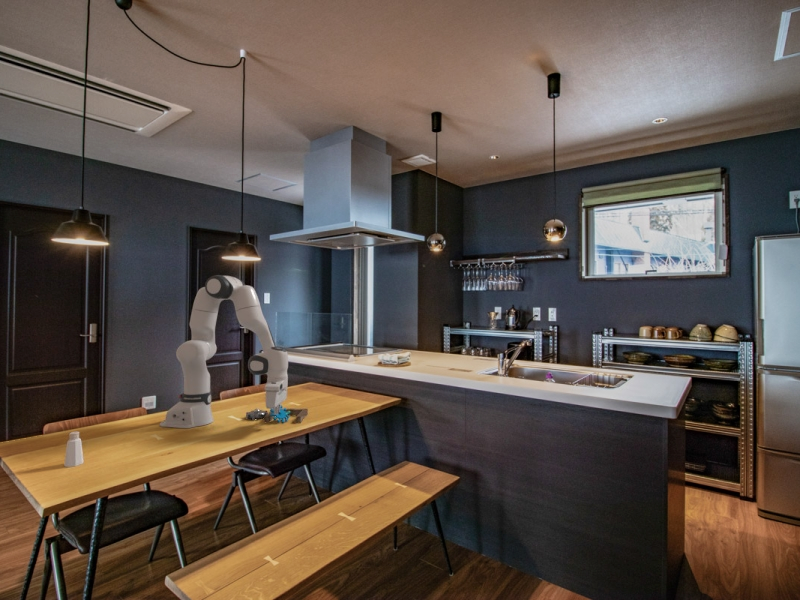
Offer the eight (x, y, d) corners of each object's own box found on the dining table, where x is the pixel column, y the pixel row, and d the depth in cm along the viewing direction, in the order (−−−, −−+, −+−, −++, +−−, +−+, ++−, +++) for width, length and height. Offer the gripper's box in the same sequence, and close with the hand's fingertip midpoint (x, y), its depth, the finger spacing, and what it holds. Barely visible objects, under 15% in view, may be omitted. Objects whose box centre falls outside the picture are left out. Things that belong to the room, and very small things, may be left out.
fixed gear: (242, 420, 201) (242, 412, 201) (250, 414, 211) (250, 406, 211) (264, 420, 201) (264, 412, 201) (270, 414, 211) (270, 406, 211)
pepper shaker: (87, 461, 149) (87, 430, 149) (76, 467, 143) (76, 434, 144) (71, 461, 149) (72, 430, 149) (59, 467, 143) (60, 434, 143)
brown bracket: (264, 422, 197) (264, 416, 197) (273, 414, 212) (273, 408, 212) (300, 423, 197) (300, 416, 197) (307, 414, 212) (307, 408, 212)
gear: (275, 422, 193) (268, 404, 198) (269, 429, 195) (262, 411, 200) (295, 420, 201) (287, 403, 206) (288, 427, 203) (281, 410, 208)
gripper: (277, 378, 200) (276, 408, 200) (263, 387, 180) (262, 419, 180) (290, 379, 200) (289, 408, 200) (277, 387, 180) (277, 420, 180)
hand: (276, 413), depth 190 cm, fingers closed
